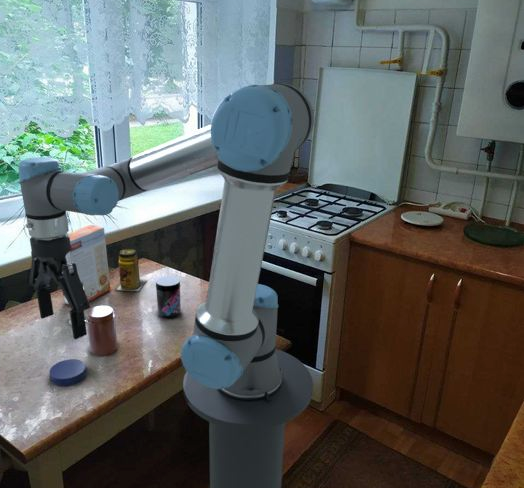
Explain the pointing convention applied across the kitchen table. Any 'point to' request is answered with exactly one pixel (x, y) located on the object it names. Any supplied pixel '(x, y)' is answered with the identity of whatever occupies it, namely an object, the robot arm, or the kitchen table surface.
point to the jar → (102, 330)
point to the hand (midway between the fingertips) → (63, 326)
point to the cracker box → (90, 259)
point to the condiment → (129, 271)
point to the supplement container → (168, 296)
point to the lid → (67, 372)
